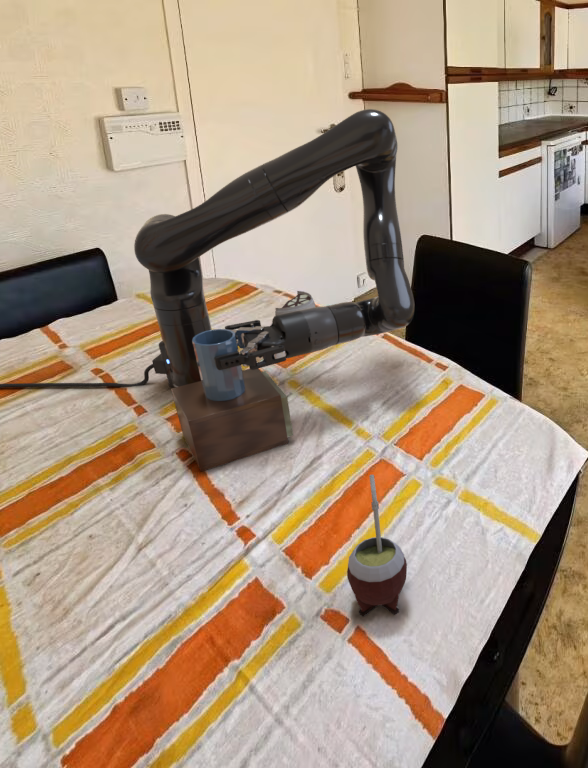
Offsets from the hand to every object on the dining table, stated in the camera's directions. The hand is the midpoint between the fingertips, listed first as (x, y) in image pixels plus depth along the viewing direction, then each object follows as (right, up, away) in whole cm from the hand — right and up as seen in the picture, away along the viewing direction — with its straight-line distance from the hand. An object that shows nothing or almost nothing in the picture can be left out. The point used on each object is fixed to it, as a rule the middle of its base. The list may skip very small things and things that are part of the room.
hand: (208, 353), depth 100 cm
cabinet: (+1, -15, +9) cm, 17 cm away
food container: (+4, +5, +46) cm, 46 cm away
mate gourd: (+30, -31, -22) cm, 49 cm away
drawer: (+3, -13, +9) cm, 16 cm away
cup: (+1, -6, +4) cm, 7 cm away
